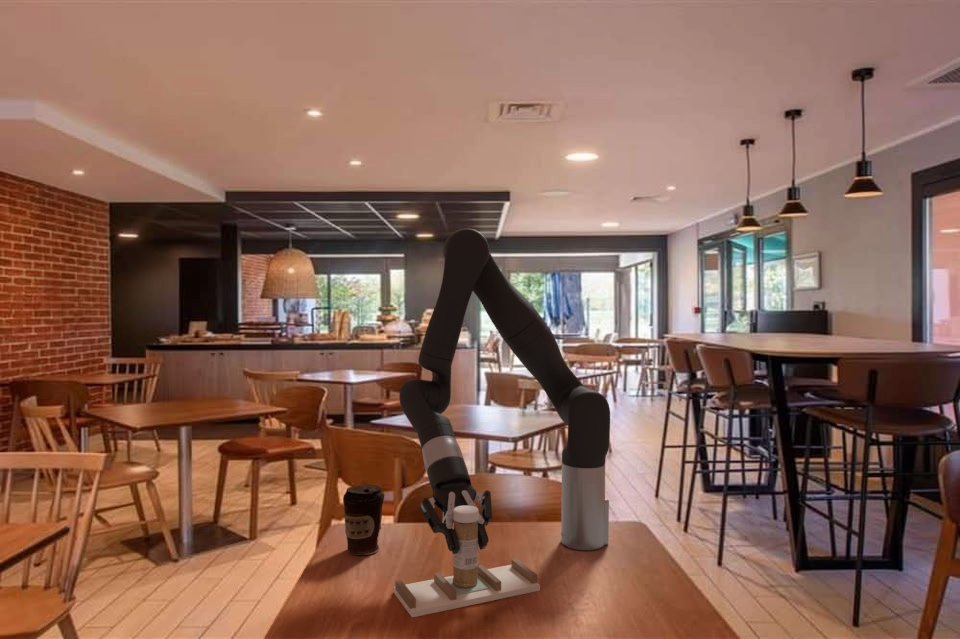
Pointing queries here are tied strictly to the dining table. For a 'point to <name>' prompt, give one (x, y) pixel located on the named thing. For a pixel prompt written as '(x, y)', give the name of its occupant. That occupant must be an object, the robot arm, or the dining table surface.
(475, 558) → the sprinkles bottle
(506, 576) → the rack
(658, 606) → the dining table surface
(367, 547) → the coffee cup
